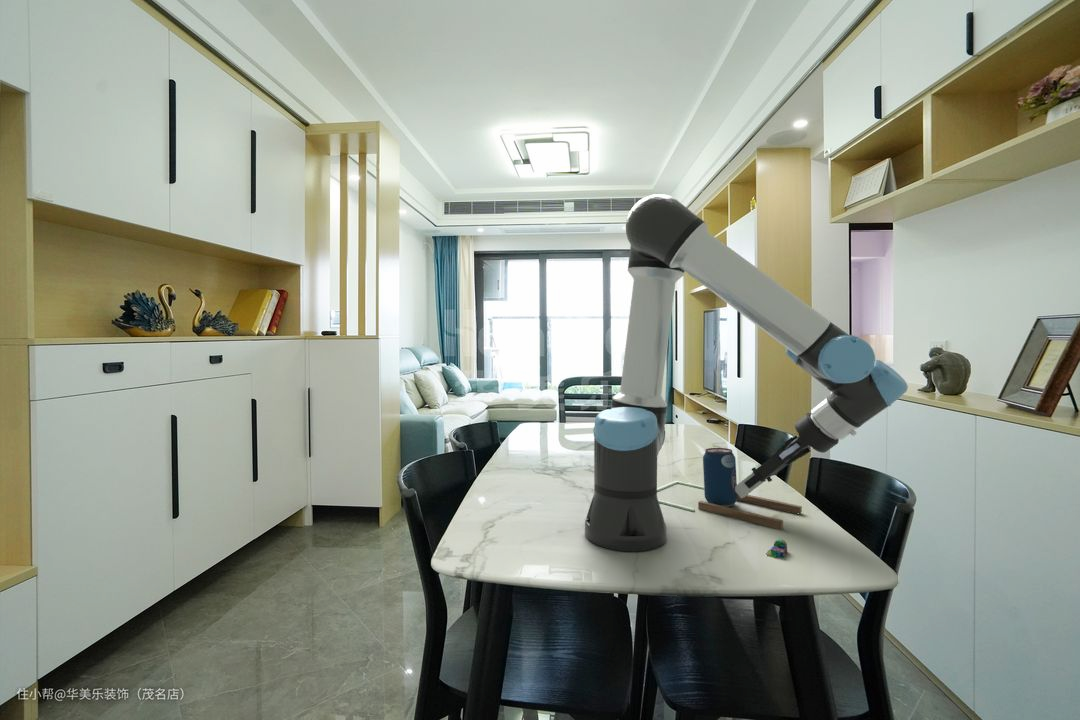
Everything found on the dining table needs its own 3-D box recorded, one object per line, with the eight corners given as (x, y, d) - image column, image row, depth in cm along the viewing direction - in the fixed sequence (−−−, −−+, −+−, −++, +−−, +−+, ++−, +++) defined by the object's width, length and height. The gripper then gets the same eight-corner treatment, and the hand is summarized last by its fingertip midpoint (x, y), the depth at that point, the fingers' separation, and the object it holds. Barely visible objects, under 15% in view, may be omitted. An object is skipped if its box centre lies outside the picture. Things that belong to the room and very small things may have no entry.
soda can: (742, 507, 104) (740, 451, 105) (710, 508, 105) (708, 453, 105) (730, 498, 111) (728, 446, 112) (700, 499, 111) (698, 447, 112)
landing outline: (693, 511, 103) (693, 509, 103) (638, 497, 113) (638, 495, 113) (727, 493, 116) (728, 491, 116) (676, 481, 125) (676, 480, 125)
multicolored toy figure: (769, 549, 85) (769, 536, 85) (787, 554, 83) (787, 540, 83) (763, 557, 82) (763, 544, 82) (781, 562, 80) (781, 548, 80)
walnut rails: (780, 529, 93) (781, 522, 93) (698, 508, 105) (698, 502, 105) (801, 513, 102) (801, 506, 102) (723, 495, 114) (723, 489, 114)
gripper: (830, 446, 87) (738, 514, 99) (848, 437, 96) (761, 500, 109) (799, 414, 91) (713, 484, 103) (819, 408, 100) (738, 472, 112)
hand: (738, 492), depth 106 cm, fingers closed
